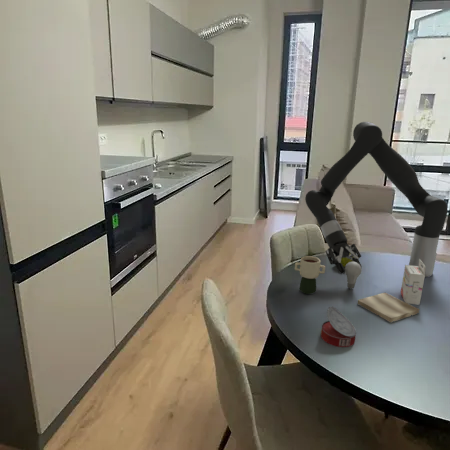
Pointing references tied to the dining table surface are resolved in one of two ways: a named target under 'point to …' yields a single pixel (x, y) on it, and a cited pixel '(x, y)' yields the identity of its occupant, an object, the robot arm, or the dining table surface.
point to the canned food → (338, 329)
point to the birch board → (388, 307)
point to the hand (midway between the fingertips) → (351, 271)
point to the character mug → (309, 273)
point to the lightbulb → (352, 273)
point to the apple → (345, 261)
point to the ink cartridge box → (413, 283)
